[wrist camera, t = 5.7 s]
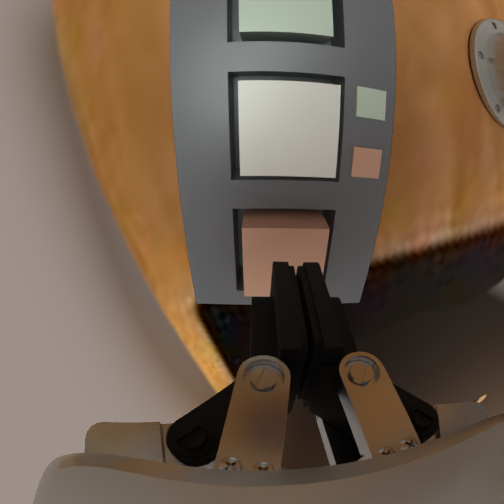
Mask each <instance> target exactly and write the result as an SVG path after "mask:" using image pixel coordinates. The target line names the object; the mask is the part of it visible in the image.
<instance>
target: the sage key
mask: <svg viewBox="0 0 504 504" xmlns="http://www.w3.org/2000/svg"><path fill="white" fill-rule="evenodd" d="M239 33H240V36H241V39H242V41H284V42H301V43H312V44H322V45H323V44H324V43H326V42H327V41H328V40H330V39H331V38H332V37H334V36H333V12H332V0H239Z"/></svg>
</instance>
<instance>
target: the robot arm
mask: <svg viewBox="0 0 504 504" xmlns="http://www.w3.org/2000/svg"><path fill="white" fill-rule="evenodd" d="M470 59H471V67H472V71H473V75H474V79H475V82H476V85H477V88H478V91H479V93H480V95H481V98H482V100H483V102H484V104H485V105H486V107H487V109H488V111H489V112H490V113H491V115H492V116H493V118H494V119H495V120H496V121H497V122H498V123H499V124H500V125H502V126H503V127H504V23H503V22H502V21H499V20H496V19H485V20H481V21H479V22H478V23H477V24H476V25H475V26H474V28H473V30H472V33H471V37H470ZM296 395H297V397H298V399H303V405H304V407H307V406H310V411H311V412H312V413H314V414H315V415H316V419H317V423H318V427H319V430H320V433H321V436H322V440H323V443H324V446H325V450H326V453H327V456H328V459H329V463H330V466H325V467H316V468H307V469H294V470H280V466H281V459H282V451H283V442H284V436H285V428H286V419H287V415H288V414H289V413H290V412H291V410H292V407H293V404H294V401H295V398H296ZM33 504H504V413H501V414H497V415H494V416H491V417H488V416H487V412H486V410H485V408H484V407H483V406H482V405H481V404H480V403H478V402H469V403H457V404H438V405H436V406H435V407H432V406H431V405H429V404H428V403H426V402H424V401H423V400H421V399H419V398H417V397H416V396H414V395H412V394H410V393H408V392H407V391H405V390H403V389H402V388H400V387H398V386H396V385H394V384H393V383H392V382H391V380H390V378H389V376H388V374H387V372H386V371H385V368H384V366H383V365H382V363H381V362H380V361H379V360H378V359H377V358H376V357H375V356H373V355H371V354H369V353H364V352H358V351H357V348H356V345H355V342H354V339H353V336H352V333H351V330H350V326H349V323H348V320H347V317H346V315H345V312H344V309H343V306H342V303H341V300H340V298H338V297H330V295H329V292H328V289H327V286H326V283H325V280H324V277H323V274H322V271H321V268H320V265H319V263H318V262H303V265H302V266H298V267H297V272H296V274H295V269H294V266H289V263H288V262H277V261H273V265H272V277H271V290H270V297H252V303H251V345H250V359H248V360H246V361H245V362H244V363H243V364H242V365H241V366H240V368H239V370H238V373H237V377H236V380H235V381H234V382H233V383H231V384H230V385H229V386H227V387H226V388H224V389H223V390H222V391H220V392H219V393H217V394H216V395H214V396H213V397H211V398H210V399H209V400H207V401H206V402H204V403H203V404H201V405H200V406H198V407H197V408H195V409H194V410H192V411H191V412H189V413H188V414H186V415H185V416H183V417H182V418H180V419H178V420H177V421H175V422H174V423H172V424H160V422H143V423H118V422H101V423H96V424H94V425H93V426H91V427H90V429H89V430H88V431H87V434H86V438H85V453H75V454H69V455H64V456H61V457H58V458H56V459H55V460H53V461H52V462H51V463H50V464H49V465H48V467H47V468H46V470H45V471H44V474H43V475H42V478H41V480H40V482H39V485H38V488H37V491H36V494H35V498H34V502H33Z"/></svg>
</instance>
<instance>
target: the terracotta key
mask: <svg viewBox="0 0 504 504" xmlns="http://www.w3.org/2000/svg"><path fill="white" fill-rule="evenodd" d="M329 230H330V229H329V226H328V224H327V222H326V220H325V218H324V216H323V214H322V212H321V210H272V209H244V215H243V223H242V249H243V276H244V296H270V290H271V277H272V265H273V261H277V262H288V263H289V266H294V269H295V274H296V272H297V267H298V266H302V265H303V262H318V263H319V265H320V268H321V271H322V274H323V271H324V265H325V259H326V252H327V245H328V238H329Z"/></svg>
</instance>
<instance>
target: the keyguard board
mask: <svg viewBox="0 0 504 504" xmlns="http://www.w3.org/2000/svg"><path fill="white" fill-rule="evenodd" d="M332 12H333V36H334V37H332V38H331V39H330V40H328V41H327V42H326V43H324V44H323V45H322V44H312V43H301V42H284V41H242V39H241V36H240V33H239V0H170V75H171V98H172V116H173V130H174V142H175V154H176V164H177V174H178V183H179V192H180V201H181V209H182V216H183V224H184V231H185V238H186V245H187V251H188V258H189V264H190V270H191V276H192V282H193V287H194V293H195V298H196V303H204V304H251V303H252V297H270V296H244V276H243V249H242V223H243V215H244V209H272V210H321V212H322V214H323V216H324V218H325V220H326V222H327V224H328V226H329V229H330V230H329V238H328V245H327V252H326V259H325V265H324V271H323V277H324V280H325V283H326V286H327V289H328V292H329V295H330V297H338V298H340V300H341V303H359V301H360V298H361V295H362V291H363V288H364V284H365V280H366V277H367V273H368V269H369V265H370V261H371V257H372V253H373V249H374V245H375V240H376V236H377V231H378V226H379V221H380V216H381V211H382V206H383V200H384V194H385V188H386V182H387V175H388V168H389V161H390V153H391V144H392V134H393V122H394V107H395V83H396V50H395V28H394V14H393V4H392V0H332ZM240 80H281V81H301V82H315V83H325V84H334V85H341V95H340V121H339V139H338V153H337V166H336V177H335V178H324V177H298V176H240V151H239V110H238V81H240Z"/></svg>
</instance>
